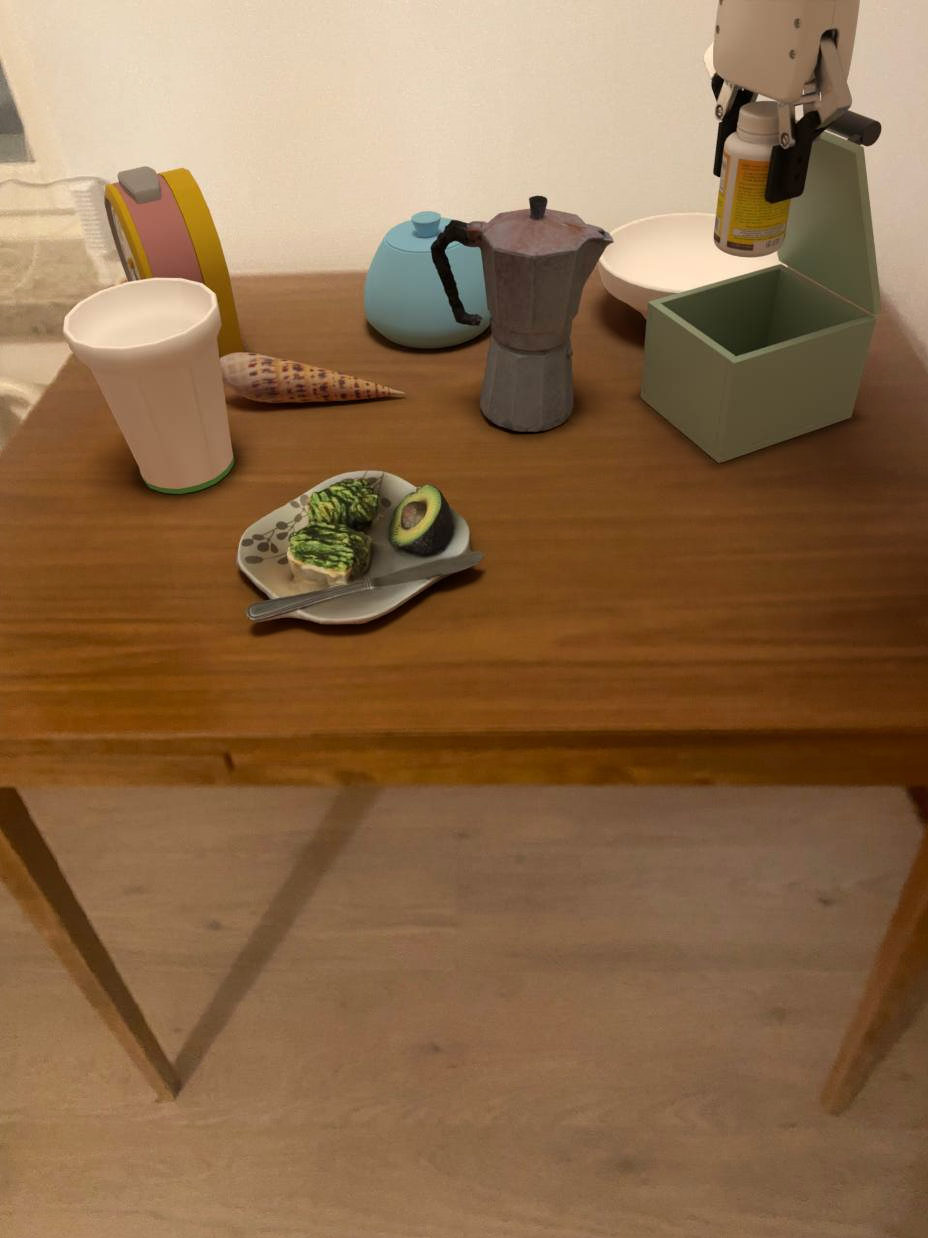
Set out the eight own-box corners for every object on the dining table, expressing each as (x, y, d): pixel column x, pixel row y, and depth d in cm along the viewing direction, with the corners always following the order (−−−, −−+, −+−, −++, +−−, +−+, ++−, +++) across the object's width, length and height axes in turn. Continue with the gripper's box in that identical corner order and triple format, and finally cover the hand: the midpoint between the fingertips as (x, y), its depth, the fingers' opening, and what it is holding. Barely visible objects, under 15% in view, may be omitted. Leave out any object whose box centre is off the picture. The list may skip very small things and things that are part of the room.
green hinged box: (718, 463, 85) (734, 362, 78) (640, 397, 93) (647, 301, 86) (851, 417, 88) (877, 317, 82) (764, 358, 97) (781, 263, 90)
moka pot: (609, 435, 89) (621, 215, 75) (441, 441, 89) (423, 225, 76) (600, 381, 96) (609, 170, 82) (444, 387, 96) (428, 180, 82)
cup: (92, 495, 86) (28, 338, 76) (168, 421, 95) (120, 270, 84) (212, 519, 83) (163, 357, 72) (280, 440, 91) (245, 284, 81)
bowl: (700, 381, 94) (708, 312, 89) (557, 317, 106) (558, 253, 101) (817, 311, 103) (831, 245, 98) (674, 259, 114) (680, 197, 109)
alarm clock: (140, 327, 110) (87, 157, 97) (210, 308, 112) (167, 139, 99) (174, 385, 100) (119, 204, 87) (250, 363, 102) (208, 184, 89)
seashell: (231, 389, 98) (220, 344, 95) (408, 388, 97) (403, 342, 93) (220, 413, 95) (208, 367, 92) (403, 412, 93) (397, 365, 90)
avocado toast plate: (317, 690, 68) (306, 644, 65) (184, 574, 78) (169, 529, 75) (511, 559, 77) (510, 513, 74) (370, 470, 87) (363, 426, 84)
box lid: (855, 152, 70) (911, 111, 70) (747, 107, 78) (797, 70, 78) (874, 315, 81) (923, 280, 81) (778, 260, 90) (822, 228, 90)
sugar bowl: (422, 279, 114) (413, 178, 106) (529, 308, 107) (527, 202, 99) (338, 333, 106) (322, 227, 98) (448, 368, 99) (440, 257, 91)
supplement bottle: (797, 249, 77) (823, 110, 70) (741, 266, 75) (761, 125, 68) (753, 226, 81) (773, 92, 74) (698, 241, 79) (713, 106, 72)
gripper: (945, -96, 58) (873, 211, 70) (762, -124, 69) (728, 144, 82) (845, -79, 56) (789, 234, 68) (673, -110, 67) (653, 162, 80)
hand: (756, 182), depth 75 cm, fingers closed on supplement bottle, 5 cm apart
